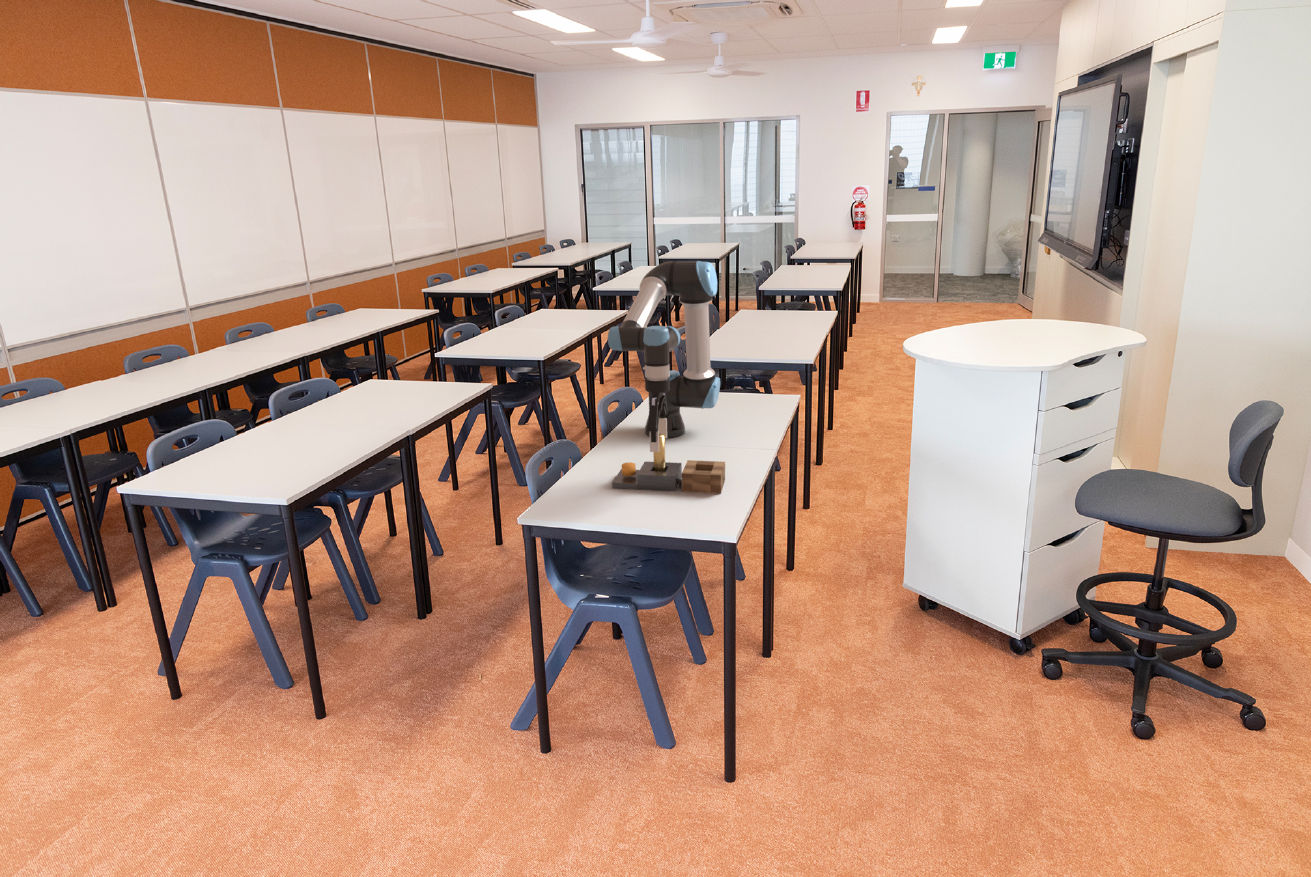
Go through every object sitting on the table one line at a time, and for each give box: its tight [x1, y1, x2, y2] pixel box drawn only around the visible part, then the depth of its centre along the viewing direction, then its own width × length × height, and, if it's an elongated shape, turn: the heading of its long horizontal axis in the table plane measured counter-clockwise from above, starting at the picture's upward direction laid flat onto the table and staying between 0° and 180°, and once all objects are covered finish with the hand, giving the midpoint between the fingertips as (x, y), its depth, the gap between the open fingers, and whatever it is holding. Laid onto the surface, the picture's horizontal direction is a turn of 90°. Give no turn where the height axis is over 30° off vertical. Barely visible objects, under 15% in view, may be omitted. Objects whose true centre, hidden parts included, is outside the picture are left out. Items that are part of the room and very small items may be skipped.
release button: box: [621, 461, 637, 476], centre depth 252 cm, size 4×4×3 cm
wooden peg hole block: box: [681, 459, 726, 495], centre depth 247 cm, size 12×12×6 cm
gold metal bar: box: [652, 434, 666, 472], centre depth 249 cm, size 4×4×16 cm
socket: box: [611, 461, 683, 492], centre depth 251 cm, size 12×20×5 cm, turn 79°
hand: (658, 444), depth 247 cm, fingers open, 13 cm apart
